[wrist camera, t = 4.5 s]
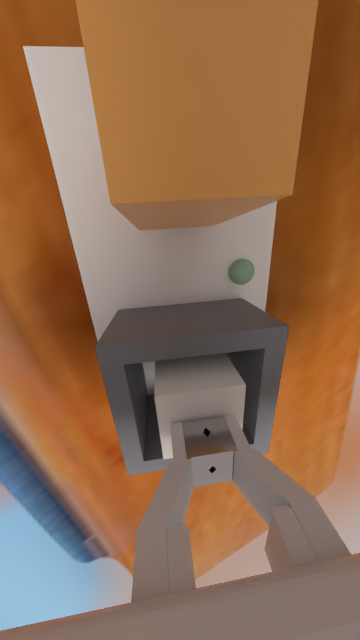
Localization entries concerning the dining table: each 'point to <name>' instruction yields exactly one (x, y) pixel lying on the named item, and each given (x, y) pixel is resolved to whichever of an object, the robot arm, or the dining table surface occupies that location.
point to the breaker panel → (157, 277)
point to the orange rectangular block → (197, 103)
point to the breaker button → (196, 392)
